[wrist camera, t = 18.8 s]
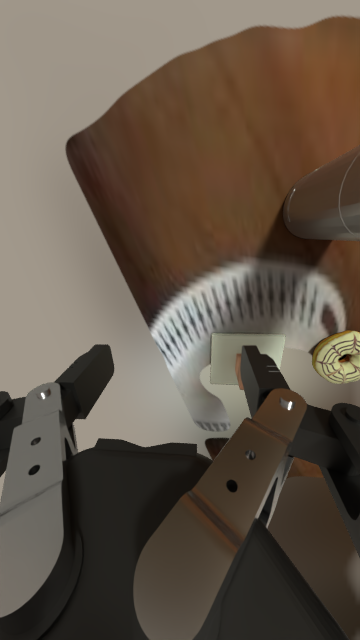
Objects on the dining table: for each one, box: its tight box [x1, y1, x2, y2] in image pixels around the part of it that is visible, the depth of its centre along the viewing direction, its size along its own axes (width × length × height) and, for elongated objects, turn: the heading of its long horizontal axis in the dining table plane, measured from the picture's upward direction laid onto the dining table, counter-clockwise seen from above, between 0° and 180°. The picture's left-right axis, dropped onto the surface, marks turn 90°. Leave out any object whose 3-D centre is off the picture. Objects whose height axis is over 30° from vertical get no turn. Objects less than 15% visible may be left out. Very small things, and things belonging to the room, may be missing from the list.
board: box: [210, 333, 286, 385], centre depth 42 cm, size 14×12×1 cm
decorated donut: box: [312, 330, 360, 384], centre depth 39 cm, size 10×11×4 cm
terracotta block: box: [235, 354, 244, 390], centre depth 39 cm, size 4×4×6 cm
